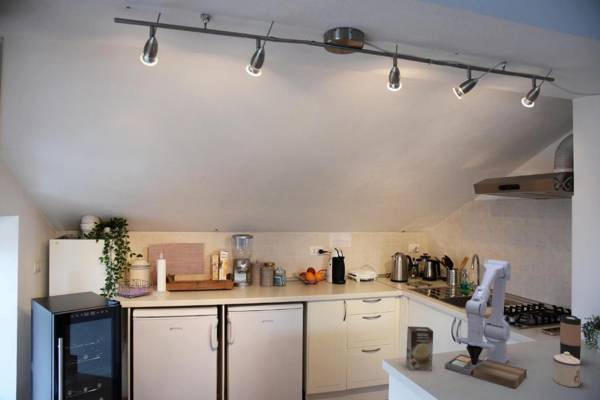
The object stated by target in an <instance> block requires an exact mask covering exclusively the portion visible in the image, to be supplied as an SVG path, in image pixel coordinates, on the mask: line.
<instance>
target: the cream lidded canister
mask: <svg viewBox="0 0 600 400" xmlns="http://www.w3.org/2000/svg"><path fill="white" fill-rule="evenodd" d="M552 359H553V377H552V378H553V381H554V382H555V383H557V384H558V385H561V386H565V387H569V388H577V387H579V386H581V365H582V362H581V359H580V360H578V359H577V358H574V357H573V356H571V355H570V353H569V352H564V354H560V353H559V354H554V356H553V357H552Z"/></svg>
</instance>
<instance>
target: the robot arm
mask: <svg viewBox="0 0 600 400" xmlns="http://www.w3.org/2000/svg"><path fill="white" fill-rule="evenodd" d="M511 272H512V266H511V263H510V262H509V261H507V260H506V261H504V260H498V259H497V260H496V259H489V258H486V259H485V260H484V261H483V277H482V280H481V284H480V285H478V286H476V288H475V290H474V292H473V295H472V297H471V299H470V300H469V299H468V300H467V301H466V303H465V307H464V309H465V313H466V318H467V337H462V336H457V337H456V339H455V340H456V343H458V344H459V343H460V344H465V345H466V350H467V352H468V354H469V355H468V356H470V358H471V362H472V365H477V362H478V359H480V355H481V353H482V351H483V350H484V349H485V350H486V356H485V357H483V359H482V360H483V361H485V360H486V359H490V360H494V361H498V362H501V363H505V364H507V362H508V361H509V360H510V358H509V357H507V355H508V354H507V352H508V348H507V347H508V346H507V342H509V340H510V337H511V331H510V323H509V322H507V321H506V319H504V312H505V311H504V308H505V300H506V299H505V298H506V288H507V287H506V286H507V281H510V280H511V275H512V273H511ZM492 286H493V289H492V299H491V300H492V301H491V308H490V309H491V310H490V316H489V317H487V318H486V319H485V320H484V317H485V315H486V313H487V307H488V304H487V303H488V301H489V298H490V296H491V290H490V289H491V288H492ZM484 338H485V340H486V341H483V340H484Z"/></svg>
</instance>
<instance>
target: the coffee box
mask: <svg viewBox="0 0 600 400" xmlns="http://www.w3.org/2000/svg"><path fill="white" fill-rule="evenodd" d="M433 345H434V330H432V328H430V327H427V326H407V336H406V357H405V359H406V360H405V364H406V366H407V367H408V369H409V370H411V371H432V370H433V351H434V346H433Z"/></svg>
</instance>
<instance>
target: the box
mask: <svg viewBox="0 0 600 400" xmlns="http://www.w3.org/2000/svg"><path fill="white" fill-rule="evenodd" d="M460 356H463V357H467V358H470V355H466V354H462V353H459V354H458V355H456V356H455V357H453V358H451V359H450V360H448V361H447V362H445V363H444V369H446V370H449V371H452V372H456V373H459V374H462V375H466V376H470V377H472V376H473V369H474V368H476V367H477V366H478V365H480V364H481V363H482V362H484V360H483V359H481V358H478V362H477V365H472V364H471V365H470V366H468V368H467V369H464V368H461V367H457V366H454V365H451V363H452V362H454V361H455V360H456V358H458V357H460Z"/></svg>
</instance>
